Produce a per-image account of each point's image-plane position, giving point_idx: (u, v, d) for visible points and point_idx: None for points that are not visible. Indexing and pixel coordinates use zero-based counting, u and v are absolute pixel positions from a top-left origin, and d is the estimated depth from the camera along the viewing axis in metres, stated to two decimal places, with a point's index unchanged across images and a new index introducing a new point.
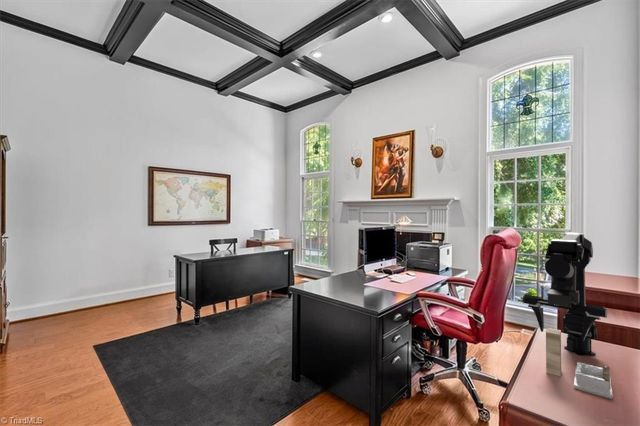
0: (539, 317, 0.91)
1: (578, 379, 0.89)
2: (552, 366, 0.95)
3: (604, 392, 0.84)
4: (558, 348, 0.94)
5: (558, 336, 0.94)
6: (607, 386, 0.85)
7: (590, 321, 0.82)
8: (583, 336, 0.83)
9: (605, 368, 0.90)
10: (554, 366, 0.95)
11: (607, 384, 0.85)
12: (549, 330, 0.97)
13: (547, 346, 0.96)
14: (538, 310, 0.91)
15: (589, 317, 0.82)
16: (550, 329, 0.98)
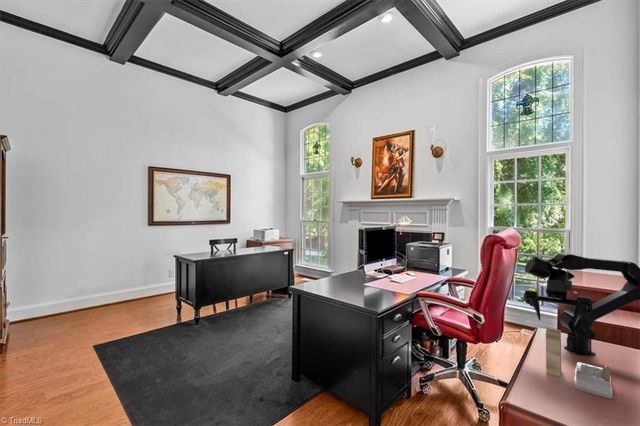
0: (537, 307, 1.08)
1: (578, 379, 0.89)
2: (552, 366, 0.95)
3: (604, 392, 0.84)
4: (558, 348, 0.94)
5: (558, 336, 0.94)
6: (607, 386, 0.85)
7: (580, 308, 1.01)
8: (574, 321, 1.00)
9: (605, 368, 0.90)
10: (554, 366, 0.95)
11: (607, 384, 0.85)
12: (549, 330, 0.97)
13: (547, 346, 0.96)
14: (537, 301, 1.08)
15: (579, 304, 1.01)
16: (550, 329, 0.98)
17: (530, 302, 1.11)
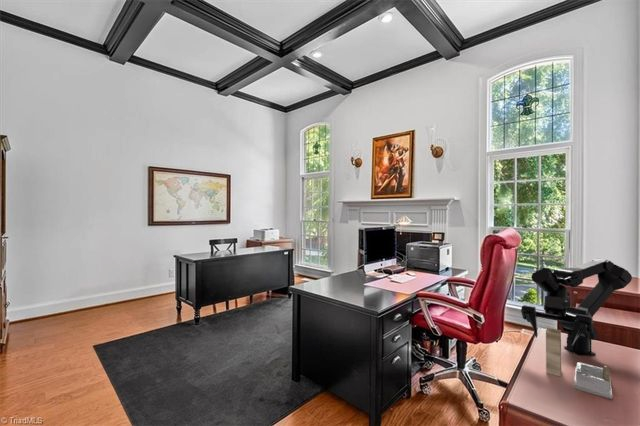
0: (534, 324, 1.03)
1: (578, 379, 0.89)
2: (552, 366, 0.95)
3: (604, 392, 0.84)
4: (558, 348, 0.94)
5: (558, 336, 0.94)
6: (607, 386, 0.85)
7: (579, 327, 0.96)
8: (572, 340, 0.95)
9: (605, 368, 0.90)
10: (554, 366, 0.95)
11: (607, 384, 0.85)
12: (549, 330, 0.97)
13: (547, 346, 0.96)
14: (534, 317, 1.04)
15: (578, 322, 0.96)
16: (550, 329, 0.98)
17: (527, 318, 1.07)
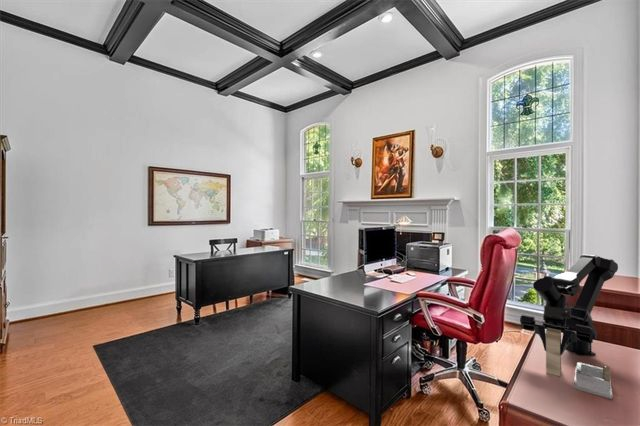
0: (544, 336, 0.99)
1: (578, 379, 0.89)
2: (552, 366, 0.95)
3: (604, 392, 0.84)
4: (558, 348, 0.94)
5: (558, 336, 0.94)
6: (607, 386, 0.85)
7: (568, 336, 0.95)
8: (562, 349, 0.95)
9: (605, 368, 0.90)
10: (554, 366, 0.95)
11: (607, 384, 0.85)
12: (549, 330, 0.97)
13: (547, 346, 0.96)
14: (543, 329, 1.00)
15: (567, 331, 0.95)
16: (550, 329, 0.98)
17: (535, 330, 1.03)
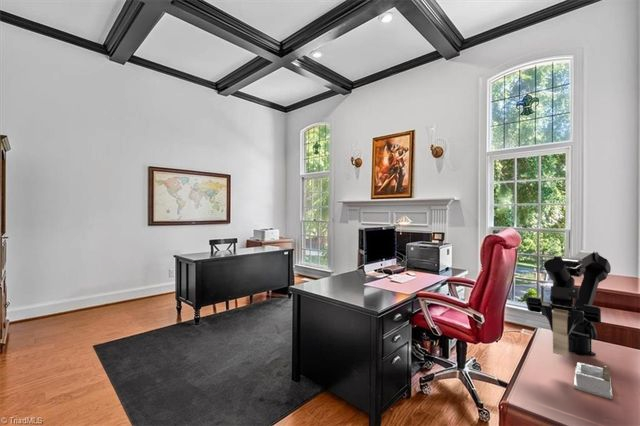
0: (550, 317, 0.98)
1: (578, 379, 0.89)
2: (559, 346, 0.94)
3: (604, 392, 0.84)
4: (565, 328, 0.93)
5: (565, 316, 0.93)
6: (607, 386, 0.85)
7: (575, 316, 0.94)
8: (569, 329, 0.93)
9: (605, 368, 0.90)
10: (561, 346, 0.94)
11: (607, 384, 0.85)
12: (556, 310, 0.96)
13: (554, 326, 0.95)
14: (550, 310, 0.98)
15: (575, 311, 0.94)
16: (557, 309, 0.97)
17: (542, 311, 1.01)
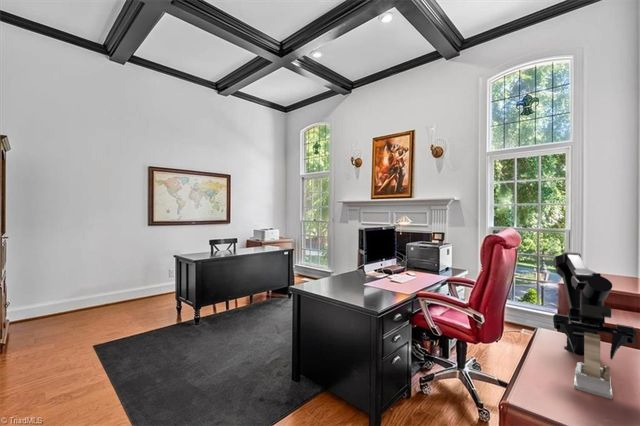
0: (571, 335, 0.94)
1: (578, 379, 0.89)
2: (591, 374, 0.89)
3: (604, 392, 0.84)
4: (598, 355, 0.88)
5: (598, 342, 0.88)
6: (607, 386, 0.85)
7: (619, 338, 0.87)
8: (612, 353, 0.86)
9: (605, 368, 0.90)
10: (594, 374, 0.88)
11: (607, 384, 0.85)
12: (587, 335, 0.91)
13: (586, 352, 0.89)
14: (571, 328, 0.94)
15: (618, 333, 0.87)
16: (588, 334, 0.91)
17: (562, 328, 0.97)
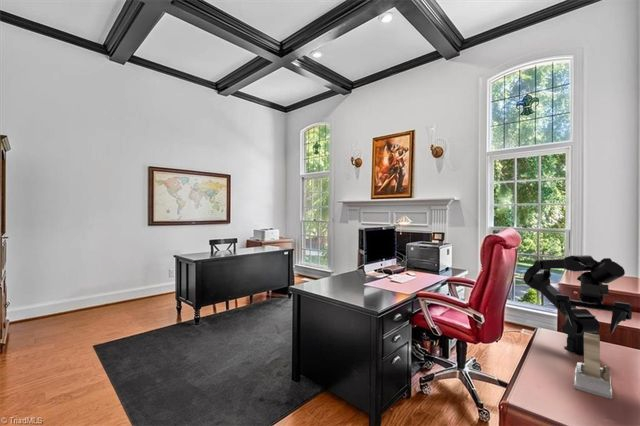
0: (570, 312, 1.01)
1: (578, 379, 0.89)
2: (591, 374, 0.89)
3: (604, 392, 0.84)
4: (598, 354, 0.88)
5: (598, 342, 0.88)
6: (607, 386, 0.85)
7: (618, 314, 0.94)
8: (612, 328, 0.93)
9: (605, 368, 0.90)
10: (594, 374, 0.88)
11: (607, 384, 0.85)
12: (587, 335, 0.91)
13: (585, 352, 0.89)
14: (569, 306, 1.02)
15: (617, 310, 0.94)
16: (587, 334, 0.92)
17: (561, 307, 1.05)
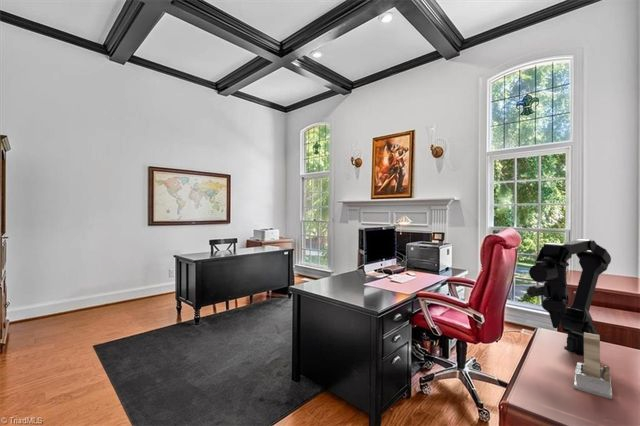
0: None
1: (578, 379, 0.89)
2: (591, 374, 0.89)
3: (604, 392, 0.84)
4: (598, 354, 0.88)
5: (598, 342, 0.88)
6: (607, 386, 0.85)
7: None
8: (552, 323, 1.02)
9: (605, 368, 0.90)
10: (594, 374, 0.88)
11: (607, 384, 0.85)
12: (587, 335, 0.91)
13: (585, 352, 0.89)
14: None
15: None
16: (587, 334, 0.92)
17: None
